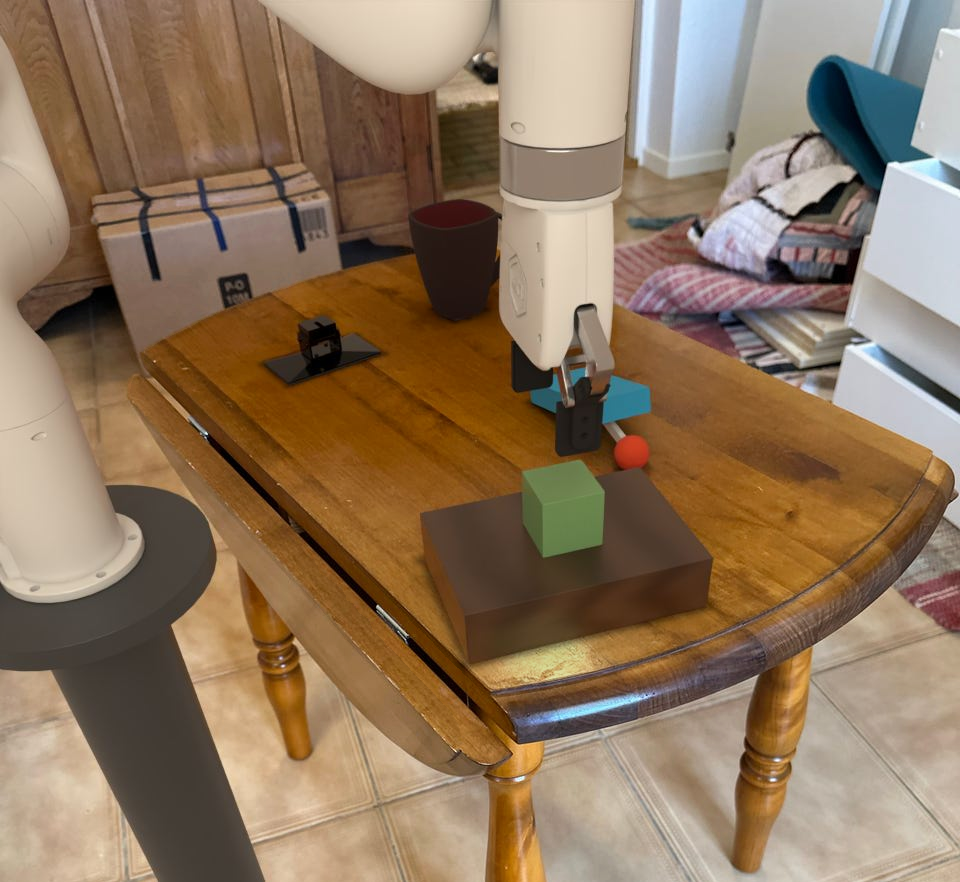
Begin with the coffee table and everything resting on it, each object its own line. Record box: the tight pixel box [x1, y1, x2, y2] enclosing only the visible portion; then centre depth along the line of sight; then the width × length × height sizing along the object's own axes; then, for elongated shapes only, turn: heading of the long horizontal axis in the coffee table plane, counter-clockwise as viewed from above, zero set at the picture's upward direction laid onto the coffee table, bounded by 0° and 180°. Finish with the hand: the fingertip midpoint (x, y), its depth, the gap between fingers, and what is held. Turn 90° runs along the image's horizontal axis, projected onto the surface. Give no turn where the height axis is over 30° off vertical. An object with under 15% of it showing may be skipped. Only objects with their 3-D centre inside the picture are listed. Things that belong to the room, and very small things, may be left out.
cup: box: [407, 198, 502, 321], centre depth 117 cm, size 10×14×12 cm
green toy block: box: [521, 458, 605, 558], centre depth 73 cm, size 5×5×5 cm
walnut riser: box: [419, 467, 714, 665], centre depth 76 cm, size 20×14×5 cm
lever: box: [529, 366, 652, 470], centre depth 95 cm, size 7×7×18 cm
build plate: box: [263, 314, 382, 386], centre depth 110 cm, size 12×7×5 cm, turn 125°
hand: (553, 418), depth 68 cm, fingers open, 9 cm apart
